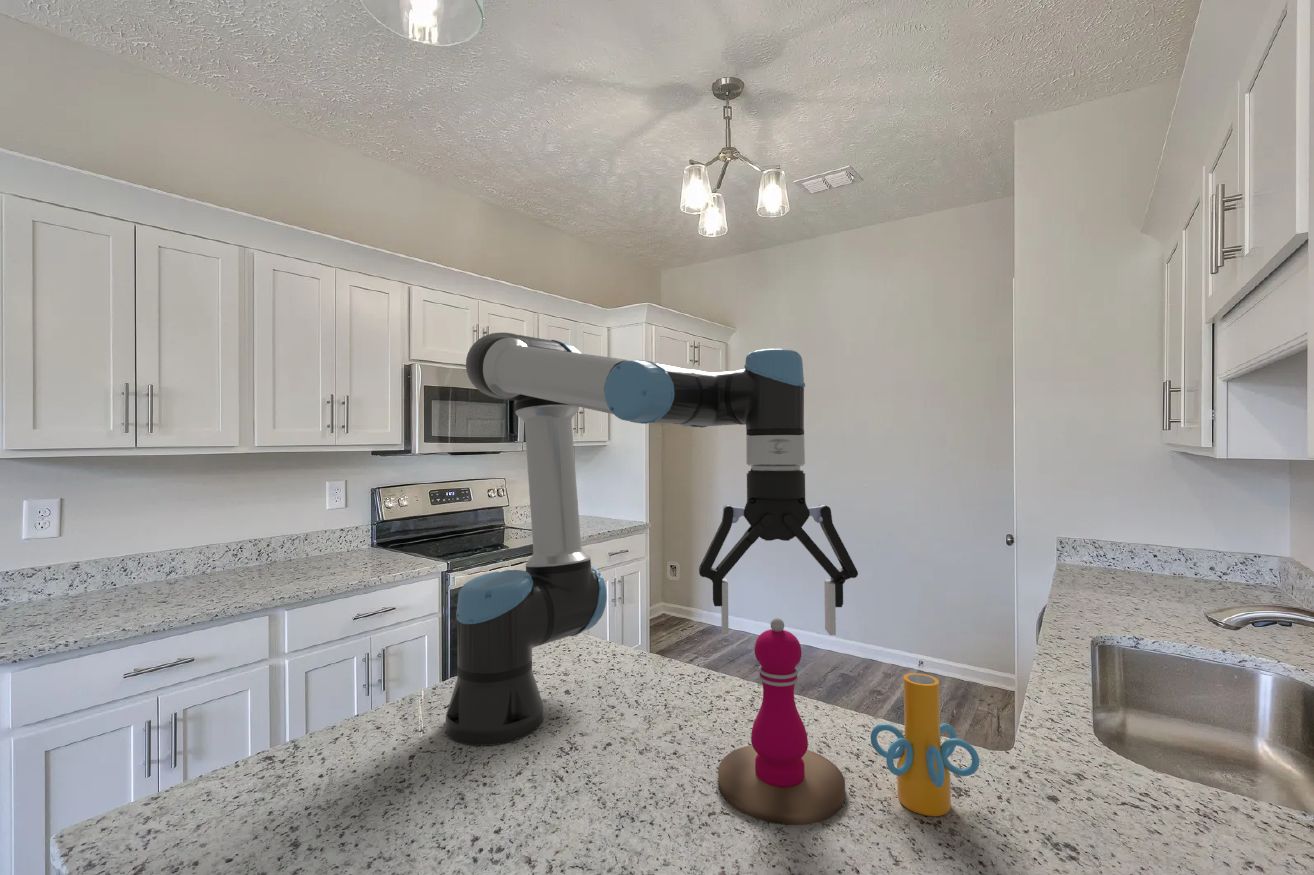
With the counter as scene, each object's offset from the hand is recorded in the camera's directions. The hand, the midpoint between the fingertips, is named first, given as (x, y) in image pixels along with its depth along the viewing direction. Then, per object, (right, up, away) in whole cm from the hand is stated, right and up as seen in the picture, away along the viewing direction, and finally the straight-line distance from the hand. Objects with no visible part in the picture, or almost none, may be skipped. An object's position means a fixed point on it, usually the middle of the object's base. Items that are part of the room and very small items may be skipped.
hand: (777, 631), depth 77 cm
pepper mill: (0, -18, -1) cm, 18 cm away
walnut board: (0, -20, -1) cm, 20 cm away
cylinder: (+17, -20, -5) cm, 26 cm away
